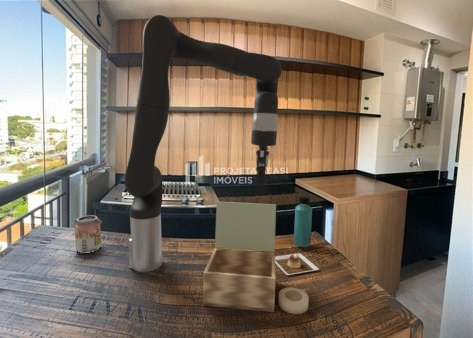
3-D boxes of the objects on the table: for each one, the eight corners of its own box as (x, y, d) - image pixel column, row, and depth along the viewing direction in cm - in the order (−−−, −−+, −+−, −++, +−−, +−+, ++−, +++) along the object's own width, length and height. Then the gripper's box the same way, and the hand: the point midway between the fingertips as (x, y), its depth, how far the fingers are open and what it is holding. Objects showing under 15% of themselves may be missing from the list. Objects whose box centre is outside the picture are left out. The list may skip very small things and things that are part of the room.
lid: (216, 201, 82) (217, 201, 83) (214, 247, 82) (215, 246, 83) (276, 204, 80) (275, 204, 81) (274, 251, 80) (274, 251, 81)
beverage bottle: (311, 252, 101) (314, 199, 98) (292, 250, 102) (295, 198, 99) (309, 244, 107) (313, 195, 104) (292, 242, 108) (295, 194, 105)
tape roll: (278, 312, 68) (279, 303, 67) (278, 294, 75) (278, 285, 75) (310, 315, 67) (310, 306, 66) (306, 296, 74) (306, 288, 74)
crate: (203, 305, 70) (203, 272, 68) (214, 275, 83) (214, 248, 82) (274, 312, 68) (275, 278, 66) (273, 280, 81) (274, 252, 80)
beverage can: (83, 243, 104) (81, 213, 102) (106, 243, 105) (104, 213, 103) (71, 255, 95) (69, 222, 93) (96, 254, 96) (94, 221, 94)
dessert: (270, 260, 95) (270, 247, 94) (300, 255, 99) (300, 243, 98) (286, 278, 84) (287, 264, 83) (319, 272, 87) (320, 258, 87)
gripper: (253, 128, 89) (250, 177, 91) (249, 128, 75) (246, 186, 77) (276, 129, 88) (273, 178, 90) (277, 130, 74) (273, 188, 77)
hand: (261, 182), depth 84 cm, fingers open, 8 cm apart
